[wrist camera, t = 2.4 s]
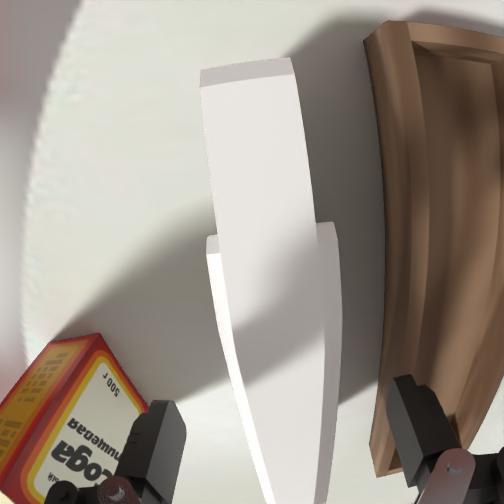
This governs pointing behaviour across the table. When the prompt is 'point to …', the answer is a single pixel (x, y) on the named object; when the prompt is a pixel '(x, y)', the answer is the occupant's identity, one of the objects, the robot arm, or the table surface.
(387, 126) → the trough
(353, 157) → the table surface
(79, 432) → the baking soda box
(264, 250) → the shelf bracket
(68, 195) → the table surface
